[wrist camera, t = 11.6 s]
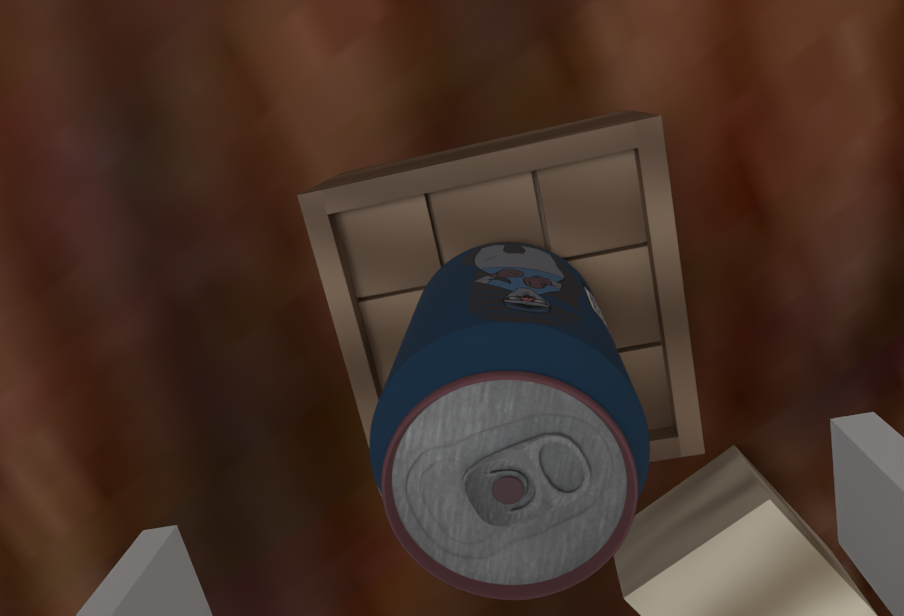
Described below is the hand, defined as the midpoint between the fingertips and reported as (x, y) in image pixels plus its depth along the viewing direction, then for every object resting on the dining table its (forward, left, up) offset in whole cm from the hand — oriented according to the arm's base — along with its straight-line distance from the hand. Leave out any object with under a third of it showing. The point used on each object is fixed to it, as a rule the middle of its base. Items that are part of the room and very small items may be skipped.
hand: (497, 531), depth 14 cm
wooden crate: (0, 0, -20) cm, 20 cm away
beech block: (+16, +8, -20) cm, 27 cm away
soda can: (0, 0, -14) cm, 14 cm away
